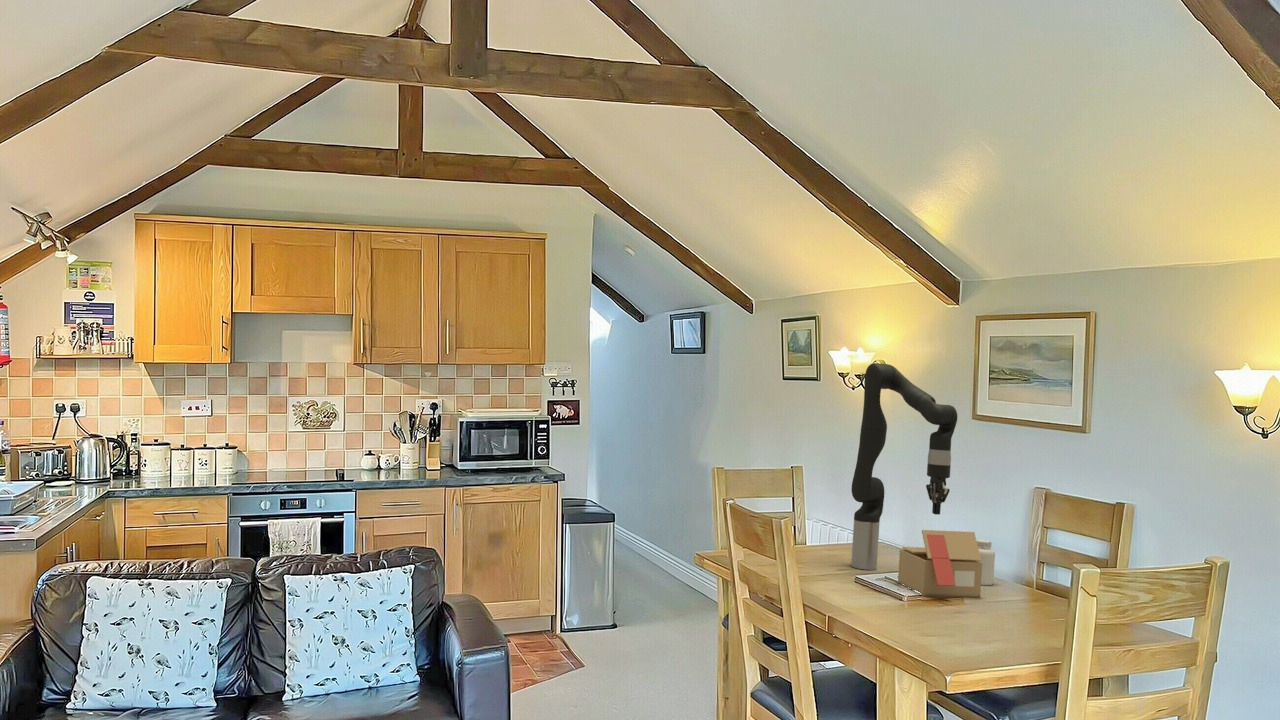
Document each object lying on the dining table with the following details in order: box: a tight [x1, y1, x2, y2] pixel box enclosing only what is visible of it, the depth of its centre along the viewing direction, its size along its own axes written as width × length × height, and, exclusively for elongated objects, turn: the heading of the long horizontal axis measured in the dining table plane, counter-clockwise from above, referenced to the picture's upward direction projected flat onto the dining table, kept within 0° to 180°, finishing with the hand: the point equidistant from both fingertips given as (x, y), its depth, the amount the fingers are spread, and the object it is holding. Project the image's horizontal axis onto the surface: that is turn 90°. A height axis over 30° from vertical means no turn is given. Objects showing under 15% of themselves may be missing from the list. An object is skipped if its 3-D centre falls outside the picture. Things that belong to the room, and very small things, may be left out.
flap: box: [921, 529, 981, 586], centre depth 315 cm, size 19×18×1 cm
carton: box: [897, 546, 982, 599], centre depth 324 cm, size 19×20×12 cm
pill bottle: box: [976, 539, 996, 586], centre depth 342 cm, size 8×8×15 cm
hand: (936, 514), depth 329 cm, fingers closed
